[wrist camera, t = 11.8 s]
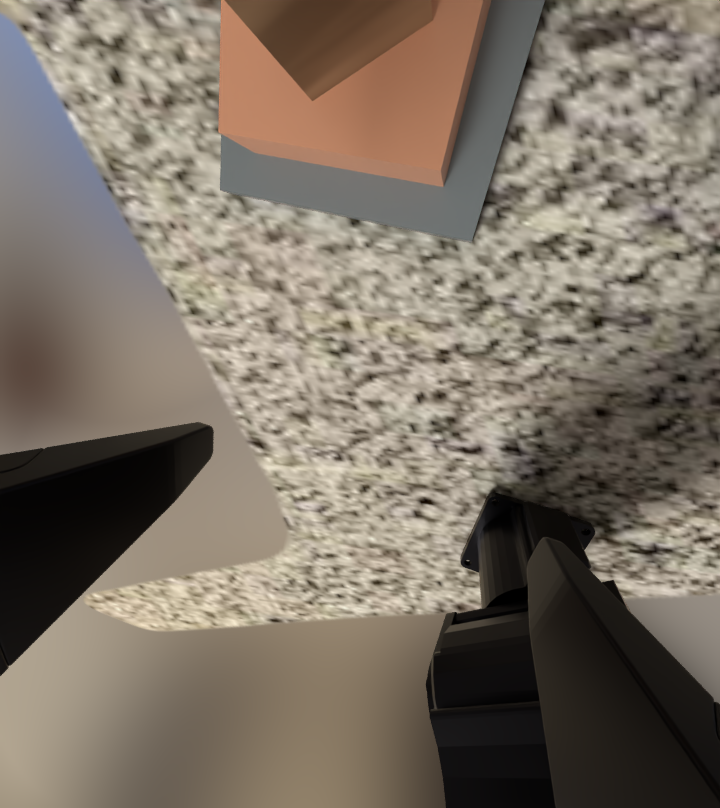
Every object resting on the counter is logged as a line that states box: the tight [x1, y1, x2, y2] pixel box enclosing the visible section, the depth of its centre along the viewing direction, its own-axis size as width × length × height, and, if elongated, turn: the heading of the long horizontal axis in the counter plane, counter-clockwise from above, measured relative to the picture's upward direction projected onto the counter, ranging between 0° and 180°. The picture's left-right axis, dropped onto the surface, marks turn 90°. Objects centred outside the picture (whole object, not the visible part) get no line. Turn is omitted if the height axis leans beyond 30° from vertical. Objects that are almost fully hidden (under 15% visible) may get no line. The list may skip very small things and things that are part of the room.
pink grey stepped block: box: [219, 0, 545, 243], centre depth 14 cm, size 14×14×4 cm
